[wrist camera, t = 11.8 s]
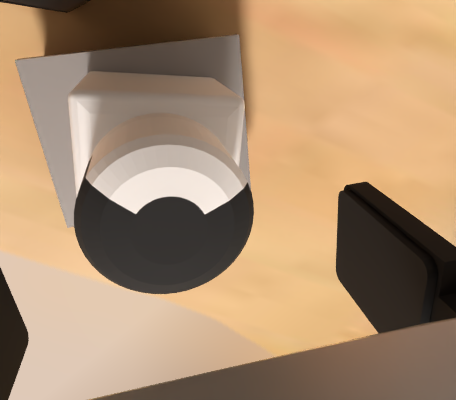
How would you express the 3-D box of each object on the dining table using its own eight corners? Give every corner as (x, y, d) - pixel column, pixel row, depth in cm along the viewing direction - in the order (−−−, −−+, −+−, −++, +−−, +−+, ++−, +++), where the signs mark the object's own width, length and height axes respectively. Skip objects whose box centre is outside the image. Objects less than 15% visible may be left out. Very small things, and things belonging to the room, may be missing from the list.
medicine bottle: (208, 190, 25) (263, 311, 15) (94, 191, 24) (61, 328, 13) (215, 77, 23) (289, 125, 12) (86, 69, 21) (36, 118, 10)
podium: (224, 33, 25) (239, 34, 22) (237, 174, 30) (251, 194, 26) (32, 54, 24) (14, 60, 20) (75, 201, 28) (67, 227, 24)
